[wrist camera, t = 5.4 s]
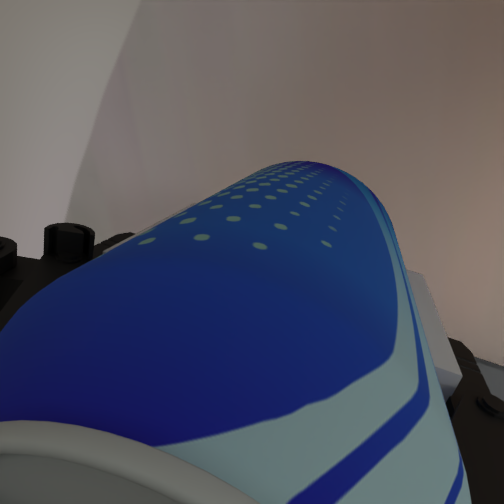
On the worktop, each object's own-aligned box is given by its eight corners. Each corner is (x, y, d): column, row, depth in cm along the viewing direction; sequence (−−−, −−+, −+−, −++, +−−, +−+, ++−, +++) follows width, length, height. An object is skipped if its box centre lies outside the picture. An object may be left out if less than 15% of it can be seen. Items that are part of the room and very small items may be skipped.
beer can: (261, 340, 21) (47, 826, 7) (194, 199, 20) (-282, 437, 5) (419, 296, 18) (652, 997, 4) (356, 125, 17) (327, 194, 2)
